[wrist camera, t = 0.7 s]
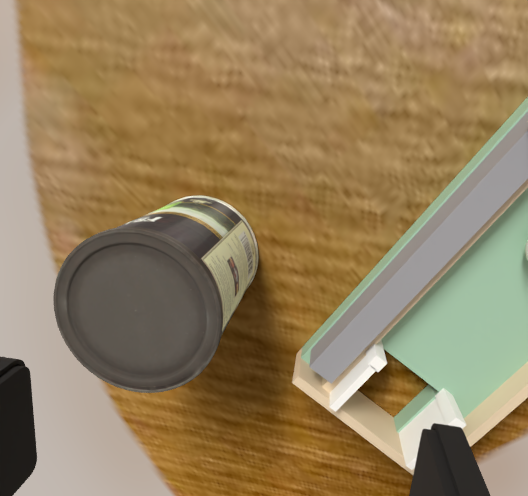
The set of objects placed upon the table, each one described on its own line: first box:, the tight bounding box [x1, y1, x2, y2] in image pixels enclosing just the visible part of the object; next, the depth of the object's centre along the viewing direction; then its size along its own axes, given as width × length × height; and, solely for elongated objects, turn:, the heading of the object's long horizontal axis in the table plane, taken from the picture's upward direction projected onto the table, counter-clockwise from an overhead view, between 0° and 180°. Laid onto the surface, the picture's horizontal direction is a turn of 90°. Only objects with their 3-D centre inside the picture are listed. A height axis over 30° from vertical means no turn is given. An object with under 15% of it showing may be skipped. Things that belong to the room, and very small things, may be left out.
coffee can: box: [54, 196, 258, 393], centre depth 33 cm, size 10×10×14 cm
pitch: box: [292, 97, 528, 475], centre depth 34 cm, size 30×14×6 cm, turn 143°
